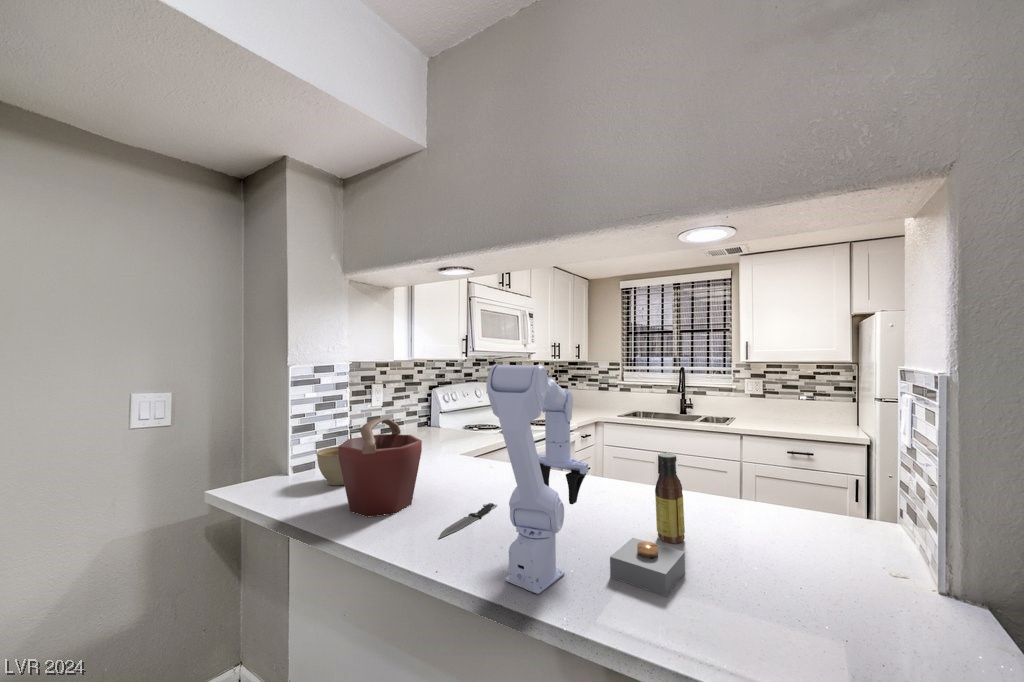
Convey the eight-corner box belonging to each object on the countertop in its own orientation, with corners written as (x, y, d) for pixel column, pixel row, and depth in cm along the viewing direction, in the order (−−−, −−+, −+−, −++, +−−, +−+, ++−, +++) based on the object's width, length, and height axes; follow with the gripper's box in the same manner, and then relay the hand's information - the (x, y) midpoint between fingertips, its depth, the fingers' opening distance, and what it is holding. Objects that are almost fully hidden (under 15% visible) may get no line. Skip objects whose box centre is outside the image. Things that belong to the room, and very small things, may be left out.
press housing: (666, 596, 79) (665, 574, 79) (610, 577, 86) (610, 556, 86) (685, 571, 88) (684, 551, 88) (632, 556, 95) (632, 537, 95)
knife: (427, 538, 105) (443, 542, 103) (427, 534, 105) (443, 538, 103) (487, 504, 128) (501, 507, 125) (487, 501, 128) (501, 504, 125)
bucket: (384, 527, 111) (384, 428, 112) (316, 516, 119) (316, 424, 119) (434, 496, 134) (433, 414, 135) (374, 489, 142) (374, 411, 142)
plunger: (654, 581, 84) (653, 552, 84) (634, 574, 87) (634, 546, 87) (661, 572, 87) (661, 545, 87) (642, 566, 90) (641, 539, 90)
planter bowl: (375, 481, 150) (375, 449, 150) (329, 492, 138) (329, 458, 139) (353, 472, 161) (353, 442, 161) (308, 482, 150) (308, 450, 150)
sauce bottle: (675, 532, 107) (674, 450, 107) (690, 543, 101) (689, 457, 101) (650, 534, 106) (649, 452, 106) (664, 546, 99) (662, 458, 100)
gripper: (594, 441, 99) (595, 501, 99) (541, 433, 108) (542, 488, 108) (578, 447, 94) (579, 510, 94) (524, 438, 103) (525, 496, 103)
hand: (558, 499), depth 101 cm, fingers open, 7 cm apart
